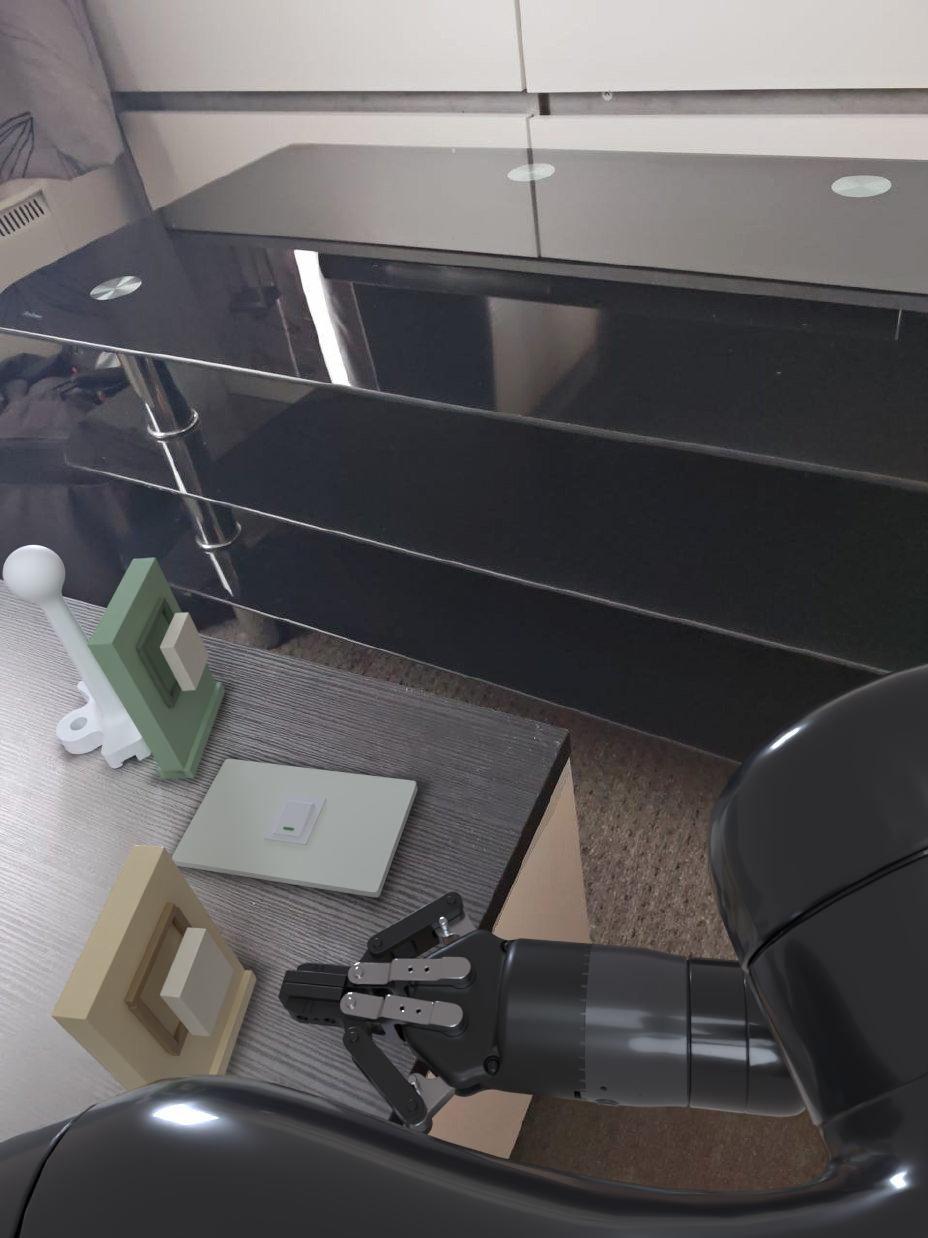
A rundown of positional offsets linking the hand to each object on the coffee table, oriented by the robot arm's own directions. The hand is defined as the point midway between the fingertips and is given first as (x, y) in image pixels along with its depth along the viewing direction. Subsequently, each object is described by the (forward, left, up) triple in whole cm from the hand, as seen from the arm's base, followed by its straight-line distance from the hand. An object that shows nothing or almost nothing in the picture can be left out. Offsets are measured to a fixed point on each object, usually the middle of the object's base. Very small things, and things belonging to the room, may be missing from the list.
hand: (285, 991), depth 51 cm
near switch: (-2, +5, -3) cm, 6 cm away
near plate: (-3, +7, -10) cm, 12 cm away
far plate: (+16, +29, -10) cm, 34 cm away
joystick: (+12, +37, -10) cm, 40 cm away
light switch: (+13, +14, -10) cm, 21 cm away
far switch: (+17, +27, -3) cm, 32 cm away
